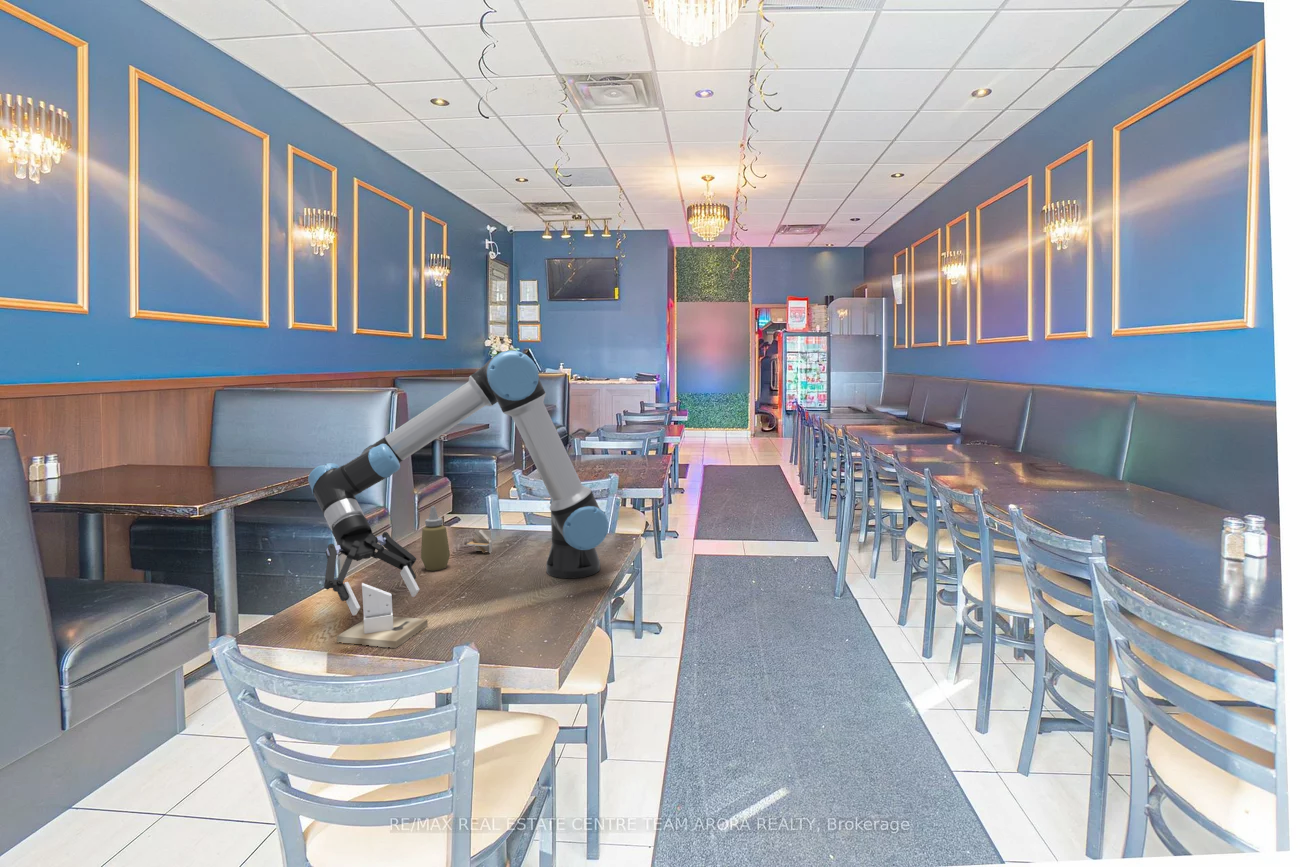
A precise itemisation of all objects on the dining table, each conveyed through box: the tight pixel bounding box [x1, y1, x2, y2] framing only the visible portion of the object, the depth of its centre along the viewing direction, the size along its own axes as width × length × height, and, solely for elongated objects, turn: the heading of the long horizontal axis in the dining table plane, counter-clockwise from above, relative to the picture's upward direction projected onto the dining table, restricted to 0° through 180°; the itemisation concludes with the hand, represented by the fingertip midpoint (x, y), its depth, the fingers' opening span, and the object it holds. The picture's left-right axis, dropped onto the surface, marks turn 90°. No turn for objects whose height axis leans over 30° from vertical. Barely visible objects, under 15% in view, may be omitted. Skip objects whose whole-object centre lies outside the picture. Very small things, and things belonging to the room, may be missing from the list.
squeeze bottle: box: [420, 506, 451, 571], centre depth 189 cm, size 8×8×18 cm
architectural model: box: [466, 529, 493, 554], centre depth 204 cm, size 3×7×7 cm, turn 77°
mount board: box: [336, 616, 429, 649], centre depth 143 cm, size 14×12×2 cm
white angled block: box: [361, 582, 394, 634], centre depth 142 cm, size 4×10×9 cm, turn 112°
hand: (387, 602), depth 141 cm, fingers open, 13 cm apart
